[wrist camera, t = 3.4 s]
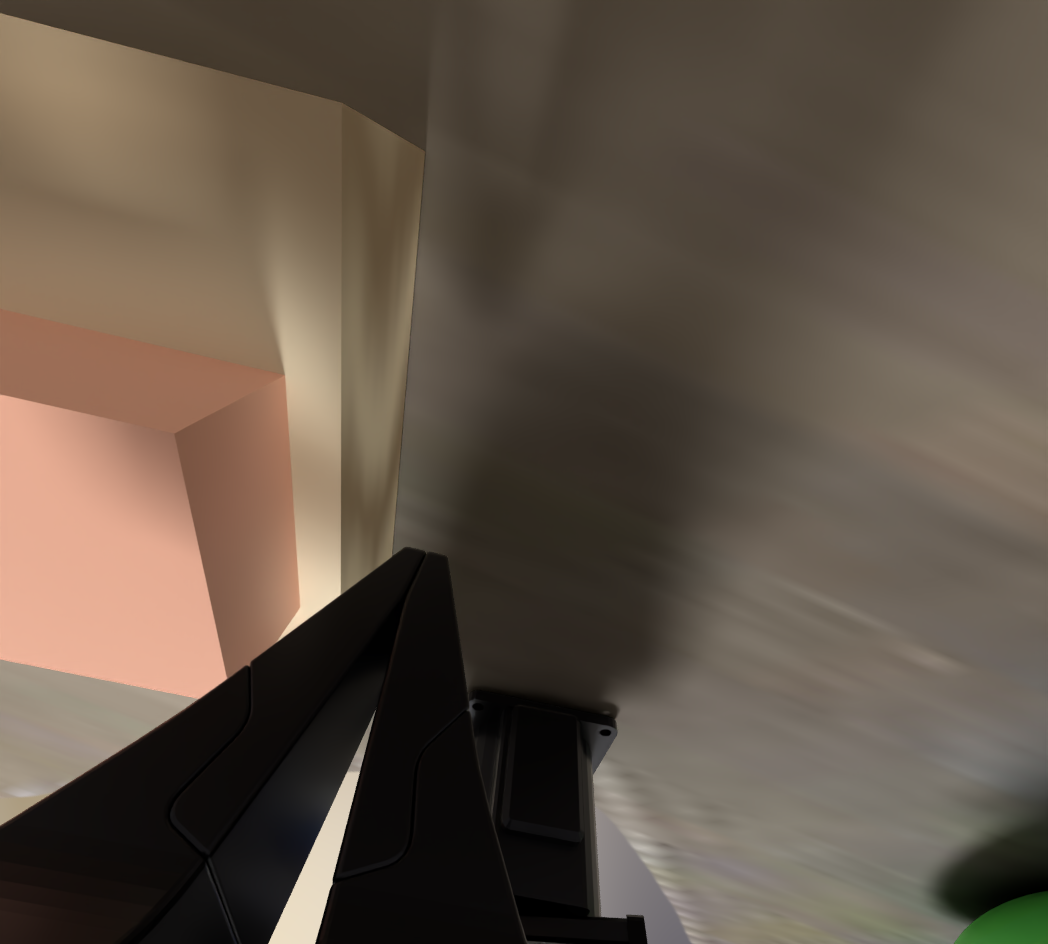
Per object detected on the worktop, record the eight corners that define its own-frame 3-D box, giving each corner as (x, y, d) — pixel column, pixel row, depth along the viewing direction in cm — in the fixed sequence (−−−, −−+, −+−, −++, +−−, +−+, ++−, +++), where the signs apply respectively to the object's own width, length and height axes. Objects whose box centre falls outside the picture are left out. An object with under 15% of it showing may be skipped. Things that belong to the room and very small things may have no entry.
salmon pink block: (300, 607, 11) (233, 705, 8) (-78, 528, 10) (-252, 609, 8) (284, 374, 8) (174, 433, 5) (-251, 250, 7) (-602, 259, 5)
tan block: (388, 604, 16) (340, 707, 13) (33, 529, 15) (-120, 615, 12) (425, 151, 9) (341, 102, 6) (-216, -15, 9) (-749, -184, 5)
